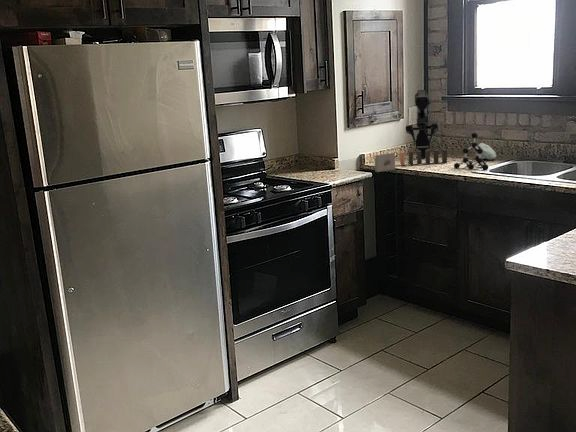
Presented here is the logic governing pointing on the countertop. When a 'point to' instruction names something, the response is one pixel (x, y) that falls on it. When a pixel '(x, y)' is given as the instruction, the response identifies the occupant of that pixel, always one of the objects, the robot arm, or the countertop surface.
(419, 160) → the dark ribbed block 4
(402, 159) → the domino
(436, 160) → the domino
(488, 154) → the decorative stone
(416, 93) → the robot arm
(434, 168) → the countertop surface
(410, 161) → the domino
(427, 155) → the domino
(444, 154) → the domino
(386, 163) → the fossil
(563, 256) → the countertop surface
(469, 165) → the molecular model
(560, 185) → the countertop surface
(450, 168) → the countertop surface
